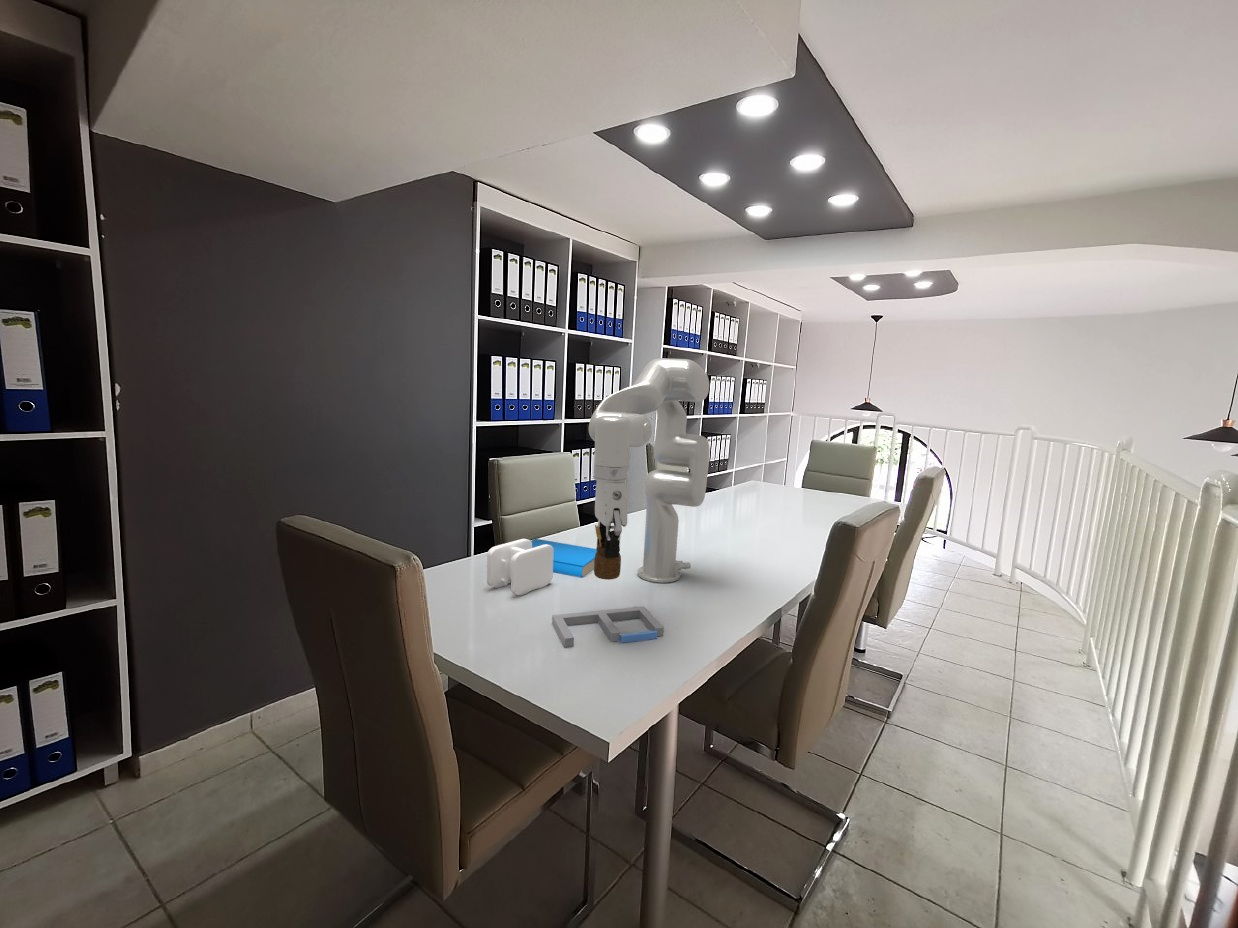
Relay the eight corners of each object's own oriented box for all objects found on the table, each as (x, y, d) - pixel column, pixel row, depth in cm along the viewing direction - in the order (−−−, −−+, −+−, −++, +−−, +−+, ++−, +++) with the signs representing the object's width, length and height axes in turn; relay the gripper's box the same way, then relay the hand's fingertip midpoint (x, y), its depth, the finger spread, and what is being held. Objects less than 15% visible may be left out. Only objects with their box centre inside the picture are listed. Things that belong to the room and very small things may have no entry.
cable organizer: (512, 600, 141) (513, 556, 140) (485, 589, 148) (485, 547, 146) (553, 584, 153) (554, 543, 152) (526, 574, 160) (527, 535, 158)
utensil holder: (625, 577, 124) (628, 525, 122) (601, 582, 121) (603, 529, 118) (611, 568, 129) (613, 518, 127) (587, 573, 125) (589, 522, 123)
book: (534, 538, 183) (605, 548, 175) (534, 551, 184) (604, 562, 175) (507, 552, 167) (582, 565, 159) (506, 566, 168) (582, 579, 159)
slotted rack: (643, 613, 137) (644, 606, 137) (665, 637, 125) (665, 629, 125) (552, 623, 129) (552, 615, 129) (565, 649, 117) (565, 640, 117)
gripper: (640, 480, 114) (636, 564, 117) (615, 465, 130) (612, 540, 133) (605, 481, 112) (602, 567, 115) (584, 466, 128) (581, 542, 131)
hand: (607, 551), depth 124 cm, fingers closed on utensil holder, 5 cm apart
